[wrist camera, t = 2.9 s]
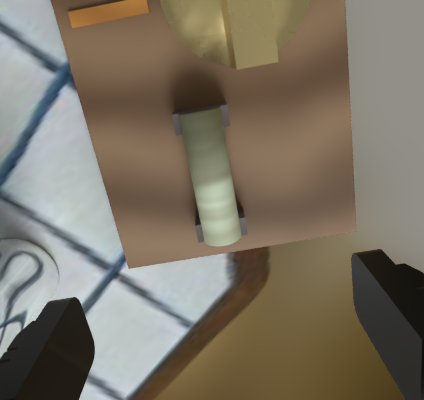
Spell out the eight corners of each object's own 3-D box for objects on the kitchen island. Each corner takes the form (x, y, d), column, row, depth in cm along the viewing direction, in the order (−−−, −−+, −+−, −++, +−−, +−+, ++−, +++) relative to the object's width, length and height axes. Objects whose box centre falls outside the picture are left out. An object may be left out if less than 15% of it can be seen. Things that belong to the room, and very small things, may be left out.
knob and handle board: (36, -91, 21) (-10, -132, 17) (324, -153, 20) (358, -214, 16) (133, 254, 29) (120, 291, 24) (346, 220, 28) (373, 250, 23)
